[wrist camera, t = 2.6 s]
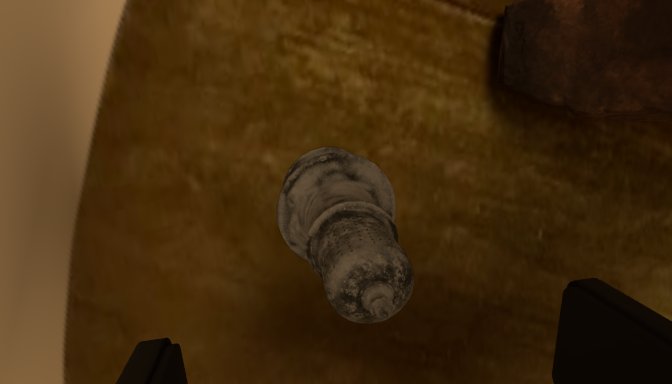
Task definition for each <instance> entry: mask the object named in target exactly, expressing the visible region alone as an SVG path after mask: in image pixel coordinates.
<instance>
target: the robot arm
mask: <svg viewBox="0 0 672 384" xmlns="http://www.w3.org/2000/svg"><path fill="white" fill-rule="evenodd" d="M552 378H553V382H554V384H672V321H670V320H668V319H667V318H665V317H663V316H661V315H660V314H658V313H656V312H655V311H653V310H651V309H649V308H648V307H646V306H644V305H643V304H641V303H639V302H637V301H636V300H634V299H632V298H631V297H629V296H627V295H625V294H624V293H622V292H620V291H618V290H617V289H615V288H613V287H612V286H610V285H608V284H606V283H605V282H603V281H601V280H599V279H597V278H589V279H582V280H575V281H572V282H570V283H569V284H568V286H567V288H566V289H565V290H564V292H563V297H562V305H561V312H560V319H559V327H558V334H557V341H556V349H555V356H554V363H553V371H552ZM116 384H188V383H187V378H186V373H185V368H184V363H183V358H182V353H181V348H180V345H179V344H171V341H170V339H169V338H163V339H156V340H149V341H141V342H139V343H138V345H137V346H136V348H135V350H134V351H133V353H132V355H131V357H130V359H129V361H128V362H127V364H126V366H125V368H124V370H123V372H122V374H121V375H120V377H119V379H118V381H117V383H116Z"/></svg>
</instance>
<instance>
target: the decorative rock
mask: <svg viewBox="0 0 672 384" xmlns="http://www.w3.org/2000/svg"><path fill="white" fill-rule="evenodd" d="M497 80H498V82H499V83H500V84H503V85H505V86H506V87H508V88H510V89H512V90H515V91H517V92H519V93H522V94H524V95H526V96H528V97H530V98H532V99H534V100H537V101H539V102H542V103H544V104H549V105H553V106H556V107H559V108H562V109H565V110H568V111H569V112H571V113H572V114H574V115H578V116H582V117H602V118H605V119H610V120H615V121H620V122H622V121H630V122H642V121H662V122H669V123H672V0H518V1H514V2H510V3H509V4H507V5H506V6H505V12H504V19H503V29H502V39H501V44H500V56H499V65H498V75H497Z"/></svg>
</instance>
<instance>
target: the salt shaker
mask: <svg viewBox="0 0 672 384" xmlns="http://www.w3.org/2000/svg"><path fill="white" fill-rule="evenodd" d="M395 215H396V199H395V195H394V190H393V187H392V185H391V183H390V182H389V180H388V178H387V176H386V175H385V174H384V173H383V172H382V171H381V170H380V169H379V168H378V166H377V165H376V164H374V163H372V162H371V161H369V160H367V159H365V158H364V157H362V156H358V155H355V154H353V153H351V152H349V151H347V150H345V149H341V148H337V147H321V148H318V149H315V150H311V151H309V152H307V153H306V154H304V155H302V156H301V157H299V158H298V160H297V161H296V162H295V163H294V164H293V165H292V166H291V167H290V169H289V171H288V173H287V175H286V176H285V181H284V185H283V188H282V190H281V192H280V196H279V200H278V205H277V220H278V225H279V228H280V231H281V234H282V237H283V238H284V240H285V241H286V243H287V244H288V246H289V247H290V248H291V249H292V250H293V251H294V252H295V253H296V254H298V255H299V256H300V257H301V258H303V259H305V260H307V261H309V263H310V265H311V267H312V268H313V269H314V271H315V272H316V273H317V274H318V275H319V276H320V277H322V280H323V285H324V289H325V293H326V296H327V299H328V301H329V302H330V303H331V305H332V306H333V308H334V309H335V311H336V312H337V313H339V314H340V315H341V316H342V317H344V318H346V319H348V320H351V321H353V322H358V323H377V322H380V321H383V320H387V319H388V318H390V317H392V316H394V315H395V314H396V313H398V312H399V311H400V310H401V309H402V308H403V307H404V305H405V304H406V302H407V301H408V299H409V298H410V296H411V293H412V291H413V288H414V274H413V269H412V265H411V262H410V261H409V259H408V257H407V255H406V254H405V252H404V251H403V250H402V248H401V247H400V246H399V244H398V234H397V229H396V226H395V224H394V220H395Z"/></svg>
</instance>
